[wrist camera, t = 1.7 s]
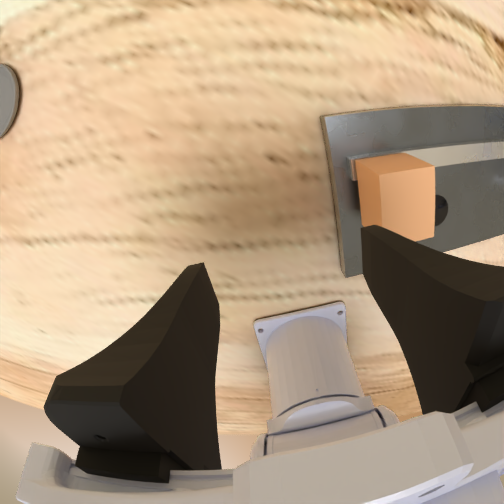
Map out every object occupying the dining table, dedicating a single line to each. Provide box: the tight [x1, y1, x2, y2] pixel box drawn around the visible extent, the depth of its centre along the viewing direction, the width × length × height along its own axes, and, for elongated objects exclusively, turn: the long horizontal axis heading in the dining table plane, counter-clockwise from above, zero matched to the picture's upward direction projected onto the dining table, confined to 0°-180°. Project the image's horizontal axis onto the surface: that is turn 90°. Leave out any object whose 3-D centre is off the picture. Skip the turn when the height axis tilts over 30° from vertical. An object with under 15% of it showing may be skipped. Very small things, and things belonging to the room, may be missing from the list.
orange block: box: [355, 153, 435, 242], centre depth 17 cm, size 6×4×4 cm, turn 13°
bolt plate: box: [320, 105, 504, 278], centre depth 17 cm, size 12×24×6 cm, turn 103°
